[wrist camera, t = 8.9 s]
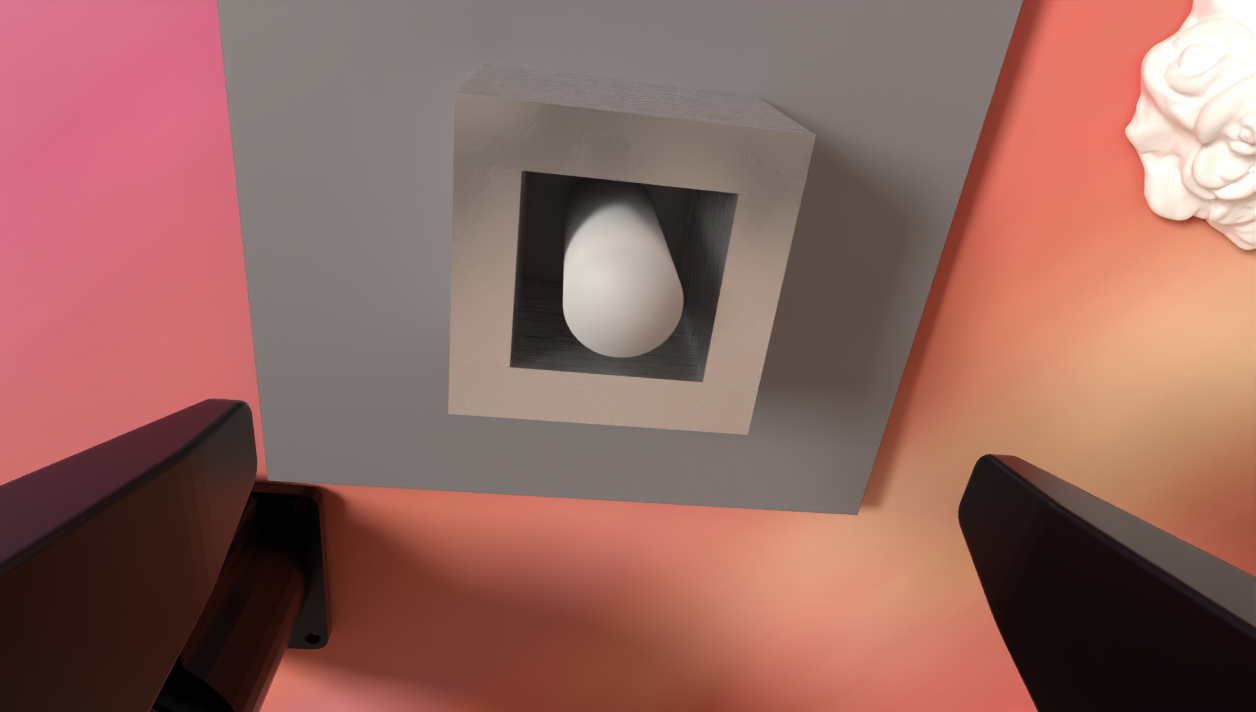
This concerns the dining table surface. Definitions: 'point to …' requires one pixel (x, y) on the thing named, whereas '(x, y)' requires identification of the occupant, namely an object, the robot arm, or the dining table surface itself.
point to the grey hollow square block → (708, 265)
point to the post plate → (396, 211)
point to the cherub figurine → (1202, 120)
